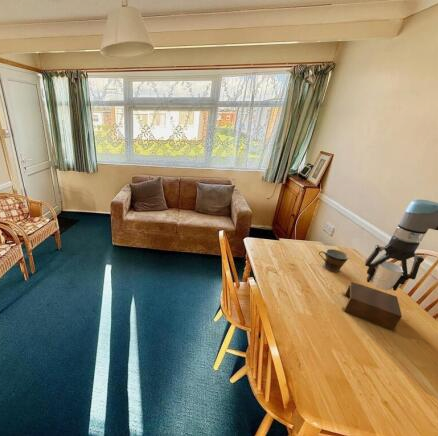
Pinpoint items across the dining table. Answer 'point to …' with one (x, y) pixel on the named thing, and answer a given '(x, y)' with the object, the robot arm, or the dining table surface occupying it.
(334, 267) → the ceramic cup
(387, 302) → the dark brown wooden box
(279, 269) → the dining table surface
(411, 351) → the dining table surface
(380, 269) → the white cup
